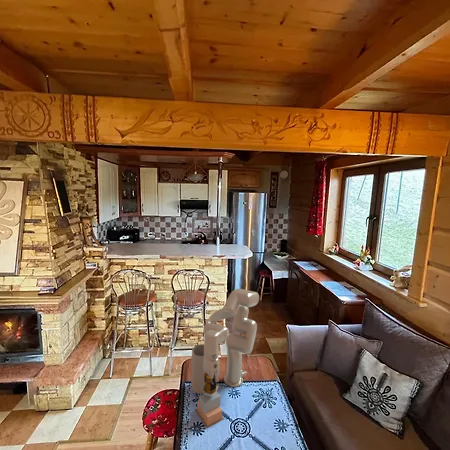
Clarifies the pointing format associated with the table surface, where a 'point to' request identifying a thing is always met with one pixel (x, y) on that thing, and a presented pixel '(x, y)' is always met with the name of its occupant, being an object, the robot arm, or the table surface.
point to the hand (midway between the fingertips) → (210, 384)
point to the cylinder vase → (197, 368)
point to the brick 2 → (210, 415)
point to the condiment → (208, 386)
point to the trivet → (204, 421)
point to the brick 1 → (209, 402)
